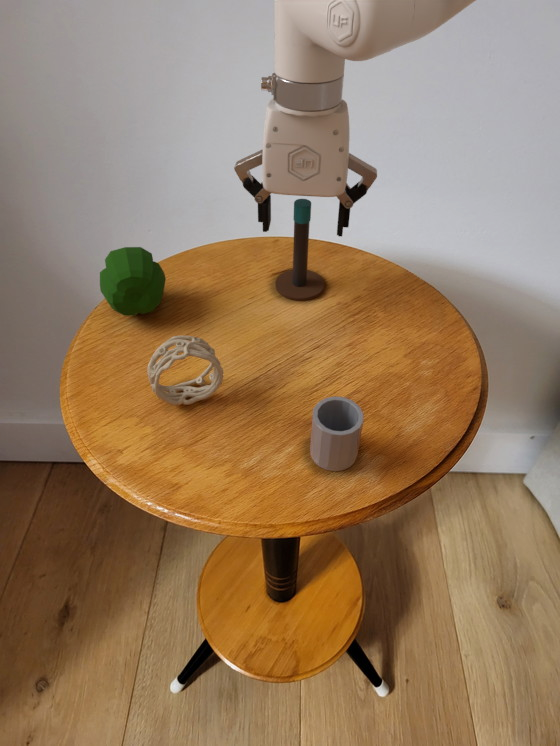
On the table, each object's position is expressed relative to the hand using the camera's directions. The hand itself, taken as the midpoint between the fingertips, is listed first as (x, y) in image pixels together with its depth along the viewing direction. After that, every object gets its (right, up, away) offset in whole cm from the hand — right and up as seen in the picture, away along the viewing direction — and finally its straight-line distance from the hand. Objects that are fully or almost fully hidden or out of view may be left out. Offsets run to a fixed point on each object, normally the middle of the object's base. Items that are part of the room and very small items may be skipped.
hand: (303, 228), depth 74 cm
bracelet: (-14, -22, -9) cm, 27 cm away
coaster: (0, -6, +7) cm, 9 cm away
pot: (+3, -27, -14) cm, 31 cm away
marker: (0, -6, +6) cm, 9 cm away
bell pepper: (-21, -10, -4) cm, 23 cm away
